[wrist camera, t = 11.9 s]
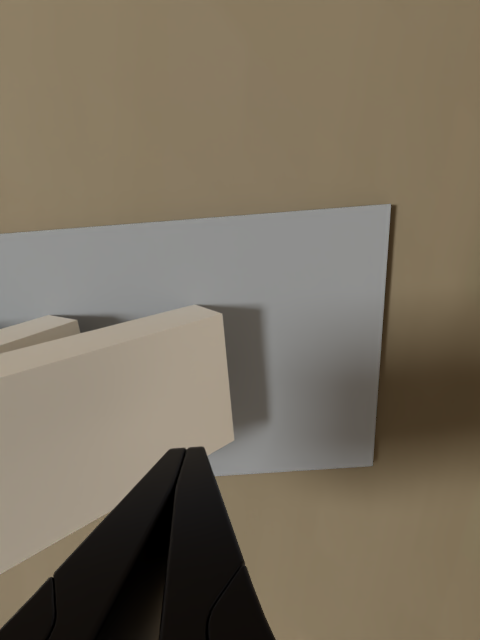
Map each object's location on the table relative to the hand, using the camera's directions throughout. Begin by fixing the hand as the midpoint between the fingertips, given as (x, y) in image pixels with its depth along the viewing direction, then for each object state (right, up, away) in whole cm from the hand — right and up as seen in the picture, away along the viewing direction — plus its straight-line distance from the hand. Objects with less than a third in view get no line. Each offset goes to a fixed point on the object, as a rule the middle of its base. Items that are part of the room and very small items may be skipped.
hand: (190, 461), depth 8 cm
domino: (0, +1, +4) cm, 4 cm away
